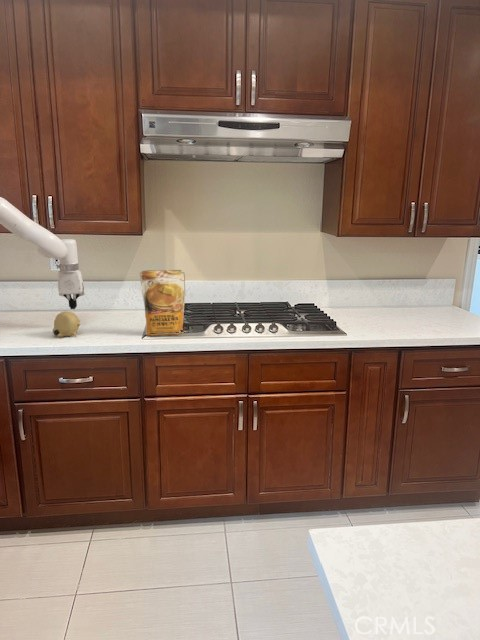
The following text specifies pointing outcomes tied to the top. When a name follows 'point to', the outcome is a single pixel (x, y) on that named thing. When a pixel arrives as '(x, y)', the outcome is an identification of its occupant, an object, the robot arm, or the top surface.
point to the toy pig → (66, 324)
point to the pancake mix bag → (163, 301)
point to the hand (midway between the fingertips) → (73, 308)
